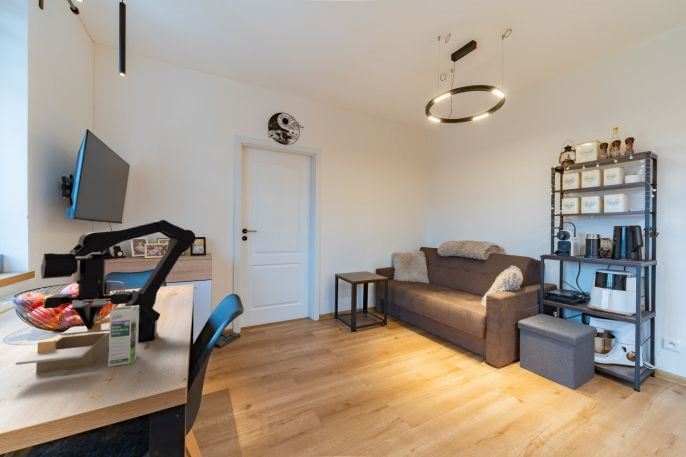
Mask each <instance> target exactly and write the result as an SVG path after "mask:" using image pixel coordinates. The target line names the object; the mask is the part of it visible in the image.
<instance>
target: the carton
mask: <svg viewBox="0 0 686 457" xmlns="http://www.w3.org/2000/svg"><path fill="white" fill-rule="evenodd" d="M109 333H110V332H97V333H86V334H75V335H64V336H61V337H59V338H57V339H55V340H56V349H55V350H58V349H68V348H78V347H88V346H93V347H92V349H91V350H90V351H88V352H87V353H86V354H85V355H84V356H83V357H81V358H72V359H64V360H55V361H46V362H37V363H35V364H36V366H35V368H36V369H35V371H36V372H35V374H40V373H51V372H58V371H65V370H66V371H67V370H73V369H81V368H89V367H90V368H91V367H93V366H94V365H96V364H97V362H99V360H100V359H101V358H103V356H104V355H105V354H106V353H108V352H109Z"/></svg>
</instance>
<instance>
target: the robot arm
mask: <svg viewBox="0 0 686 457" xmlns="http://www.w3.org/2000/svg"><path fill="white" fill-rule="evenodd" d="M157 233H160V234H162V235H163V236H165V237H167V239H169V240H168V244H167V249H166V250H165V253H164V254H163V256H162V257H161V258H160V260H159V262H158V263H157V264H156V267H155V268H154V270H153V271H152V272H151V273H150V275H149V277H148V278H147V280H146V282H145V284H143V286H142V287H141V288H140V289H138V291H137V290H135V289H132V290H125V291H123V290H122V291H115V292H114V293H112V294H111V289H112V284H111V283H109V282H108V281H107V277H106V275H105V274H106V260H113V259H115V256H113V254H110V252H109V251H107V250H108V249H110V248H113V247H115V246H116V245H118V244H121V243H123V242H126V241H130V240H134V239H138V238H142V237H145V236H146V237H147V236H150V235H153V234H157ZM196 239H197V237H196V234H195V233H194V231H193V230H191V229H184V228H182V227H180V226H178V225H175V224H173V223H171V222H169V221H168V220H165V219H156V220H154V221H150V222H146V223H142V224H141V223H140V224H138V225H133V226H128V227H125V228H121V229H116V230H102V231H89V232H85V233H83V234H82V235H80V237H79V238H78V241H77V242H78V244H76V245H75V246H74V247H73V248H72V249H71V250H70V251H69V252H62V253H59V252H58V253H53V252H45V253H43V258H42V262H41V263H42V264H40V276H41V279H42V280H45V279H59V278H71V277H72V276H73V275H75V274H76V273H77V272H78V279H76V285H78V289H77V290H78V292H77V294H76V296H73V295H72V293H61V294H60V293H57V294H54V295H51V296H48V297H47V298H45V300H44V302H43V309H58V308H59V307H61V306H62V305H68V304H72V306H71V307H70V310H71V311H74V312H75V313H77V315H78V316H79V317H80V319H81V320H82V322H83V323H84V326H86V327H87V329H92V328H93V326H94V323H95V322H97V319H98V316H99V314H100V313H101V312H102V310H103V308H105V307H107V306H109V304H110V303H111V304H112V305H124V307H126V306H137V305H139V328H138V343H139V342H140V343H141V342H148V341H149V342H150V341H154V340H155V339H156V338H157V336H158V334H159V332H157V331H158V329H157V328H158V321H159V319H160V316H161V313H160V312H158V311H156V310H155V309H154V307H155V304H156V301H157V300H156V299H157V295H158V291H159V290H160V289H161V287H162V285H163V284H164V282H165V281H166V279H167V277H168V276H169V274H170V272H172V270H173V268H174V266H175V265H176V263H177V261H178V260H179V258H180V256H182V255H183V253H185V252H186V251H187V250H189V249H190V248H191V247H192V245H193V244H194V243H195V241H196ZM102 251H103V252H102ZM100 252H102V253H100ZM86 256H88V257H86ZM78 261H79V263H78ZM92 304H93V305H92Z"/></svg>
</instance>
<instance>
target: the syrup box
mask: <svg viewBox="0 0 686 457" xmlns="http://www.w3.org/2000/svg"><path fill="white" fill-rule="evenodd" d="M109 324H110V331H108V333H109V350H108V358H107V359H108V362H107V366H108V368H111V367H114V366H115V367H116V366H121V365H129V364H134V363H135V362H136V359H137V357H138V351H139V348H138V347H139V342H138V328H139V305H137V306H126V307H125V306H116V307H115V306H114V308H112V310H111V311H110V313H109Z"/></svg>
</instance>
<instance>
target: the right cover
mask: <svg viewBox="0 0 686 457" xmlns="http://www.w3.org/2000/svg"><path fill="white" fill-rule="evenodd" d="M109 331H110V323H107V324H106V323H105V324H102V321H100V320H99V321H95V323H94V326H93V328H92V329H87V327H86V326H85V325H82V326H81V325H80V326H71V327H70V328H68V329H67V330H65V331H63V332H61V336H72V335H83V334H95V333H106V332H109Z"/></svg>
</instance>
